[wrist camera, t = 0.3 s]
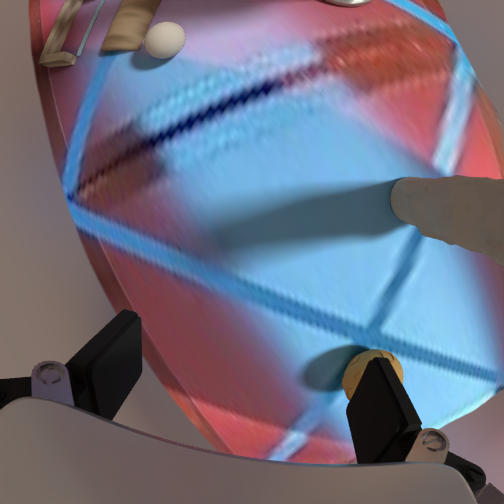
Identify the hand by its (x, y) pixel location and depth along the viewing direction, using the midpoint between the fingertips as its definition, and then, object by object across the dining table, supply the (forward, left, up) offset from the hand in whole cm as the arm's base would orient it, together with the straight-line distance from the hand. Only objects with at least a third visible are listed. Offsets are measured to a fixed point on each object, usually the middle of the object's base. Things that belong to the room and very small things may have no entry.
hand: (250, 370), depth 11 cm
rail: (-30, -43, -30) cm, 61 cm away
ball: (-24, -21, -27) cm, 42 cm away
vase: (-10, +19, -31) cm, 37 cm away
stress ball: (+17, +22, -31) cm, 41 cm away
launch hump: (-30, -30, -35) cm, 55 cm away
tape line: (-30, -40, -30) cm, 58 cm away
